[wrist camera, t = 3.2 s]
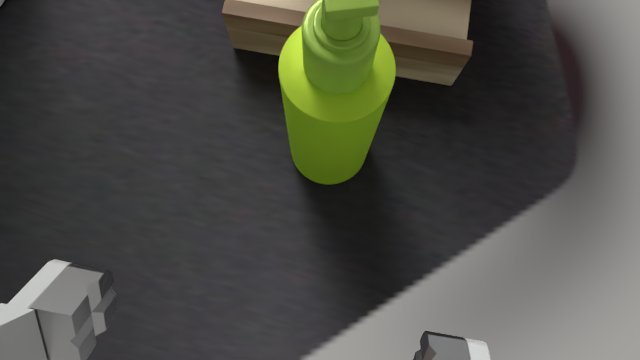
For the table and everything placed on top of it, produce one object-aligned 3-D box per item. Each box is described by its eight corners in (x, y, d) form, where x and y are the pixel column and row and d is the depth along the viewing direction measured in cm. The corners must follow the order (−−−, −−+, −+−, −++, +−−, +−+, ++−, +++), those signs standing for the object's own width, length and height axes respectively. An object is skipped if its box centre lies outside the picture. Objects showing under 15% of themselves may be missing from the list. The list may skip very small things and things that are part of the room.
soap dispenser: (357, 96, 37) (407, -128, 17) (372, 179, 35) (446, 35, 15) (284, 105, 36) (251, -112, 17) (296, 189, 35) (273, 57, 15)
